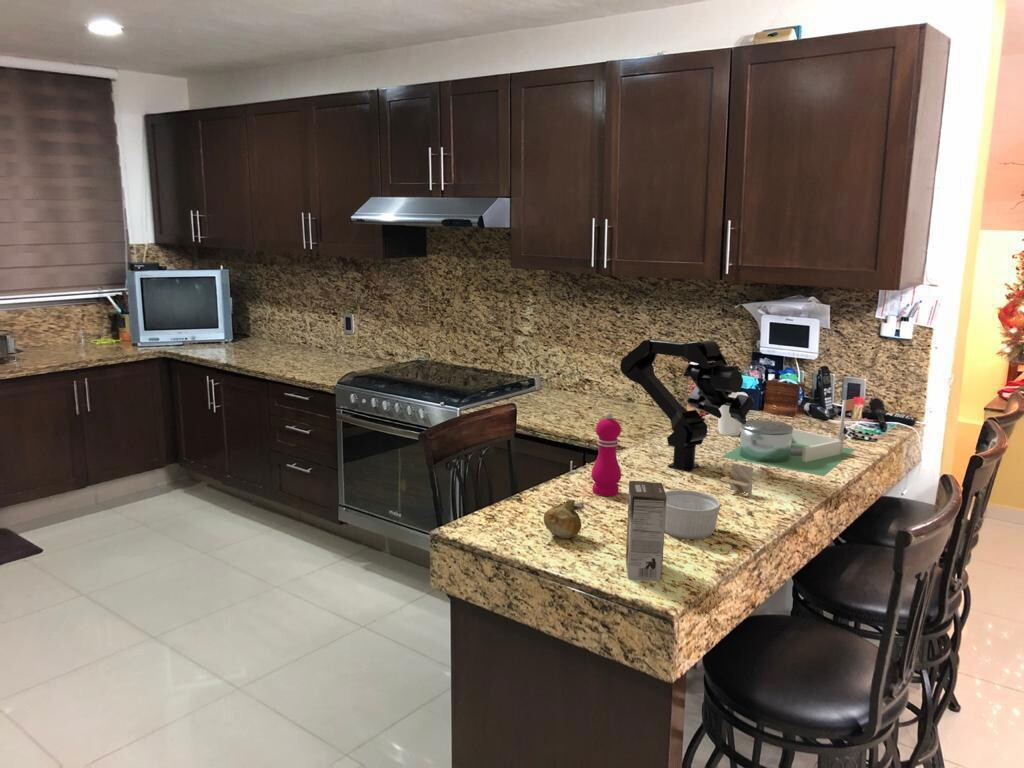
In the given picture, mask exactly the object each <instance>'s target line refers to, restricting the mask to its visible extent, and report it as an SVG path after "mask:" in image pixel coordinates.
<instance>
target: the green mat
mask: <svg viewBox="0 0 1024 768" xmlns="http://www.w3.org/2000/svg"><path fill="white" fill-rule="evenodd" d="M791 445H798V446H803V447H809V446H807V445H803V444H799V443H795V442H791ZM855 450H856V449H855V448H849V447H844V446H843V447H842V454H839V455H834V456H830V457H826V458H821V459H817V460H812V461H808V462H802V456H791V455H790V460H789V461H787V462H782V463H764V462H757V461H752V460H748V459H745V458H743V457H741V456H740V455H739V451H740V445H739V446H738V447H736V448H734V449H732V450H730V451H729V452H727V453H725V454H723V455H722V456H721V458H725V459H730V460H734V461H741V462H744V463H745V462H747V463H751V464H758V465H763V466H768V467H773V468H778V469H784V470H789V471H794V472H800V473H805V474H810V475H815V476H816V475H817V476H821V477H825V476H827V474H829V473H830V472H831V471H832V470H833V469H834V468H835V467H837V465H839V464H841V462H842V461H843V460H845V459H846V458H848V456H849V455H851V454H852V453H853V452H854V451H855Z"/></svg>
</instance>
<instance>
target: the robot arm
mask: <svg viewBox="0 0 1024 768" xmlns="http://www.w3.org/2000/svg"><path fill="white" fill-rule="evenodd" d="M658 355H664V356H670V357H671V356H672V357H681V358H683V359H685V360H686V361H688V362H692V363H688V364H687V366H686V368H685V371H684V373H683V374H682V376H684V377H686V378H691V380H692V382H693V383H694V385H695V387H694V389H693V390H692V391H691V393H690V394H689V396H688V397H687V403H688V404H689V406H690V407H693V408H696V409H698V410H700V411H702V412H704V413H707V414H709V415H711V416H713V417H715V418H717V419H718V418H721V416H722V415H721V412H720V410H719V408H720V407H721V406H722V405H727V406H730V407H729V413H730V415H731V416H730V417H732V418H733V419H735V420H736V421H738V422H740V423H741V424H743V425H745V423H746V421H747V415H748V413H749V412H750V410H751V409H752V407H754V405H755V401H754V399H753V397H752V396H749V395H748V396H746V395H741V394H740V395H737V397H736V398H732V397H729V395H731V394H732V392H734V393H737V392H740V391H741V389H742V387H743V384H744V378H743V375H742V373H741V371H740V370H739V366H738V365H728V362H727V361H726V358H725V357H724V355H723V353H722V352H721V350H720V346H719V344H718V343H717V341H715V340H713V339H711V340H698V341H690V342H687V341H686V342H685V341H677V340H676V341H675V340H668V339H667V340H666V339H665V340H663V339H658V338H648V339H644V340H642V341H641V342H640V343H639V345H638V346H637V347H635V348H633V349H632V350H630V352H628V353H627V355H626V356H623V358H622V359H621V361H620V368H619V369H620V371H621V373H622V375H624V376H625V377H626V378H627V379H628V380H629V381H631V382H634V383H636V384H638V385H640V387H642V388H643V389H644V391H645V392H646V394H648V395H649V397H650V398H651V399H652V400H653V402H654V403H655V404H656V405H657V406H658V407H659V408H660V409H661V411H662V412H663V414H665V416H666V417H667V418H668V419H669V420H670V423H671V430H672V433H671V434H670V435H668V437H666V442H667V445H668V446H669V447H672V448H673V458H672V463H669V464H668V465H667V467H668V468H672V469H677V470H682V471H687V472H691V471H693V470H695V469H696V468H698V467H699V466H700V464H698V463H695V461H696V460H695V459H696V446H698V445H699V446H700V445H702V443H703V441H704V440H705V439H706V437H707V434H708V425H707V423H706V422H705V421H706V419H705V418H704V417H703V416H701V415H700V413H699V412H698V411H697V410H696V409H692V410H687V409H685V407H683V405H682V404H681V403H680V402H679V401H678V399H676V398H675V396H674V395H673V394H672V393H671V391H670V390H668V388H667V387H666V386H665V385H664V384H663V382H662V381H661V380H660V379H659V378H658V376H657V375H656V374H655V370H654V365H653V363H654V362H655V361H656V359H657V356H658ZM693 363H694V364H693Z"/></svg>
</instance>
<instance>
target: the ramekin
mask: <svg viewBox="0 0 1024 768" xmlns="http://www.w3.org/2000/svg"><path fill="white" fill-rule="evenodd" d="M664 491H665V490H664ZM665 494H666V497H667V503H666V519H665V533H666V534H667V535H671V536H672V537H676V538H680V539H686V540H698V539H706V538H708V537H710V536H711V535H712V534H713V533H714V531H715V529H716V526H717V521H718V516H719V512H720V510H721V502H720V500H719V499H718V498H717V497H716V496H714V495H711V494H708V493H705V492H702V491H696V490H689V489H672V490H666V491H665Z"/></svg>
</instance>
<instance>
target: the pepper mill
mask: <svg viewBox="0 0 1024 768" xmlns="http://www.w3.org/2000/svg"><path fill="white" fill-rule="evenodd" d="M604 417H605V418H602V419H601V420H599V421H598V422H597V424H596V426H595V433H596V435H597V437H598V438H597V443H596V444H597V445H598V452H597V453H598V454H597V456H596V457H597V458H596V460H595V462H594V464H593V466H592V469H591V472H590V473H591V475H590V476H591V479H592V480H593V482H594V483H593V484H592V493H593V494H594V495H596V496H601V497H613V496H614V497H615V496H617V495H618V494H619V485H618V483H619V482H620V480H621V479H622V471H621V467H620V465H619V462H618V459H617V446H618V445H619V443H618V442H619V439H618V437H619V436H620V435H621V431H622V427H621V424H620V423H619V422H618V421H617V420H616V419H613V417H614V416H613V414H612V412H606V414H605V416H604Z"/></svg>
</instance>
